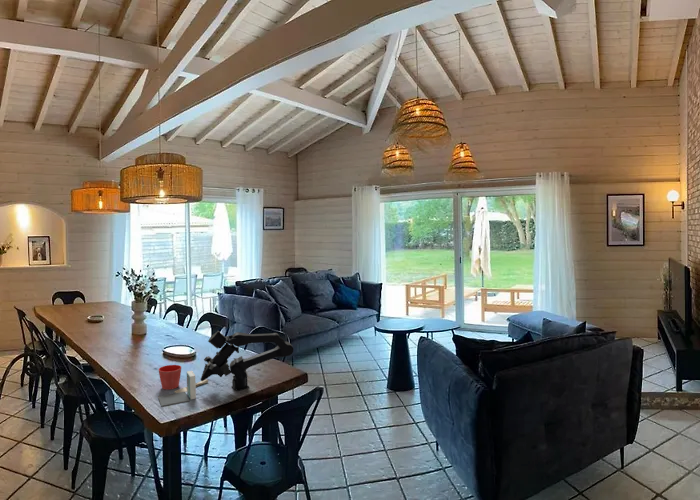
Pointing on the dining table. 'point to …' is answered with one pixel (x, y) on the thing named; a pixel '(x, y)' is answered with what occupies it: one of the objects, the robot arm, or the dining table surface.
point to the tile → (191, 385)
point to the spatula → (186, 387)
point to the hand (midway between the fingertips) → (201, 380)
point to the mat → (173, 399)
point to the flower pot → (170, 376)
